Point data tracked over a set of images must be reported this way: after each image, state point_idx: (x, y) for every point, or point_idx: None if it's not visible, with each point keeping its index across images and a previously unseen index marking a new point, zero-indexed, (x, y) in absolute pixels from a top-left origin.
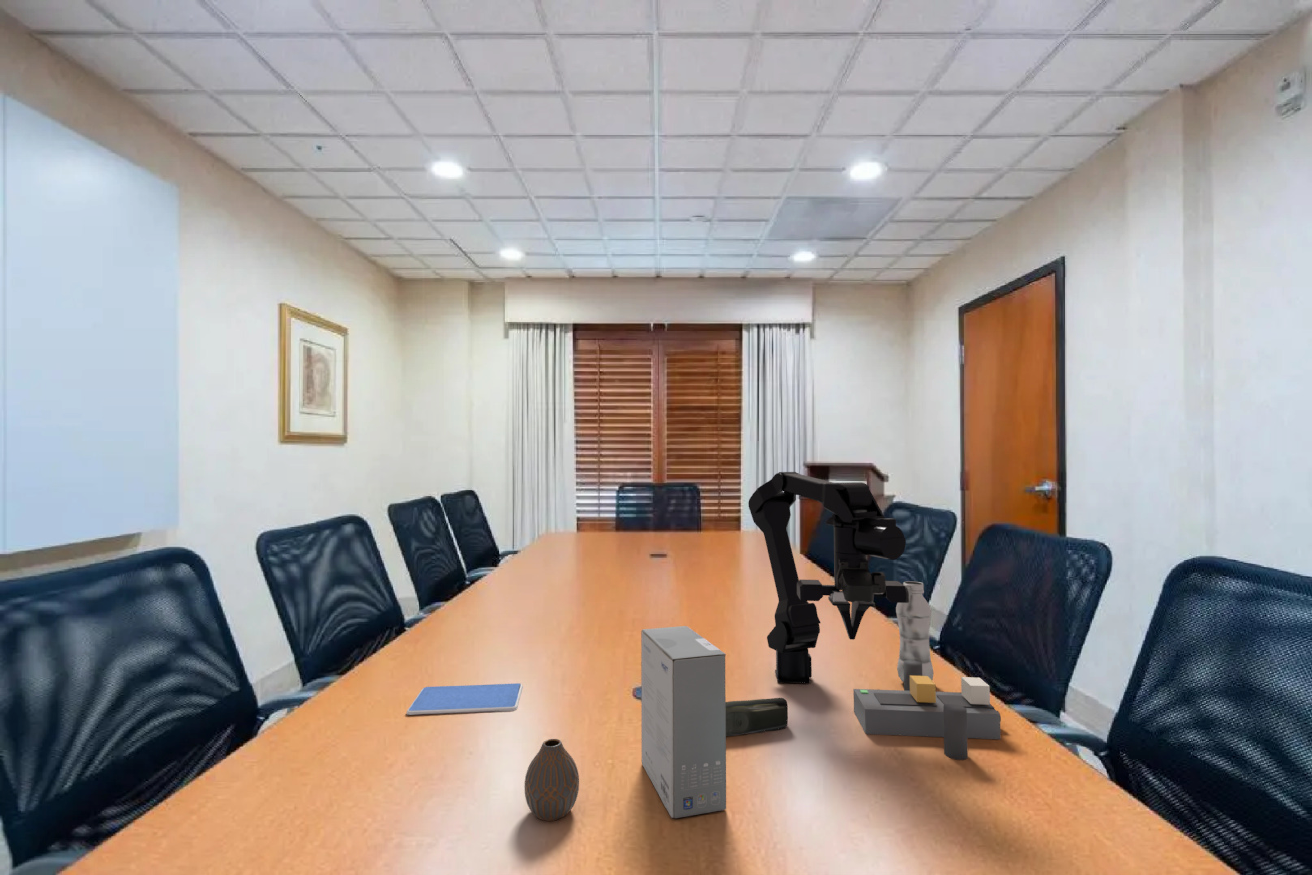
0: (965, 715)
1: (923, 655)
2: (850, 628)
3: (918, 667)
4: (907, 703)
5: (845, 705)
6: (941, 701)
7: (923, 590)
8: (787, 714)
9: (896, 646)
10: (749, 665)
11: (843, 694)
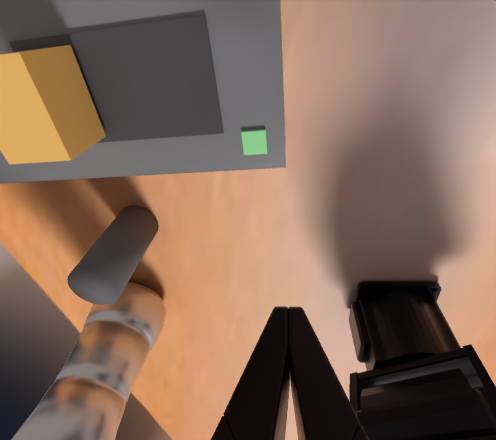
0: None
1: (85, 339)
2: (304, 367)
3: (78, 267)
4: (107, 40)
5: (300, 177)
6: None
7: None
8: None
9: (172, 407)
10: None
11: (291, 239)
